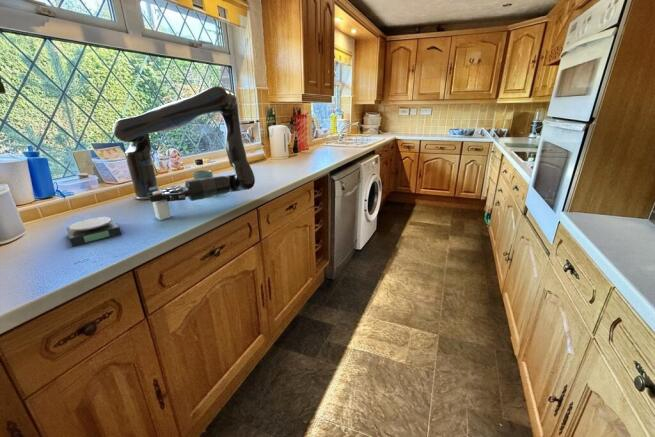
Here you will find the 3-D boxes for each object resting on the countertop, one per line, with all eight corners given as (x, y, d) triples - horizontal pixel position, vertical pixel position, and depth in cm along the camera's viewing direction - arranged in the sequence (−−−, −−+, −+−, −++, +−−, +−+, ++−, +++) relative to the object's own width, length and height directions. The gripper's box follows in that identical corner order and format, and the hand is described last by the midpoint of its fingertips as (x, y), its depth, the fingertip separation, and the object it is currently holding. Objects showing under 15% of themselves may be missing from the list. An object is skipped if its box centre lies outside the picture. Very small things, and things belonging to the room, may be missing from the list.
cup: (209, 196, 132) (205, 173, 128) (193, 195, 133) (189, 173, 130) (218, 191, 139) (215, 169, 135) (203, 191, 140) (199, 169, 137)
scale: (68, 235, 94) (64, 223, 93) (113, 224, 102) (110, 213, 100) (72, 247, 85) (67, 234, 84) (121, 234, 93) (118, 222, 92)
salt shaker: (160, 220, 104) (153, 194, 100) (155, 218, 106) (149, 192, 103) (172, 217, 106) (166, 191, 103) (167, 215, 109) (161, 189, 106)
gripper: (194, 175, 115) (143, 183, 106) (205, 182, 105) (149, 191, 95) (198, 194, 118) (148, 203, 108) (209, 202, 107) (155, 213, 98)
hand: (149, 197), depth 102 cm, fingers closed on salt shaker, 3 cm apart
